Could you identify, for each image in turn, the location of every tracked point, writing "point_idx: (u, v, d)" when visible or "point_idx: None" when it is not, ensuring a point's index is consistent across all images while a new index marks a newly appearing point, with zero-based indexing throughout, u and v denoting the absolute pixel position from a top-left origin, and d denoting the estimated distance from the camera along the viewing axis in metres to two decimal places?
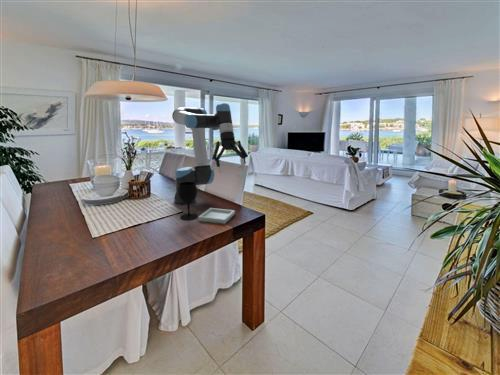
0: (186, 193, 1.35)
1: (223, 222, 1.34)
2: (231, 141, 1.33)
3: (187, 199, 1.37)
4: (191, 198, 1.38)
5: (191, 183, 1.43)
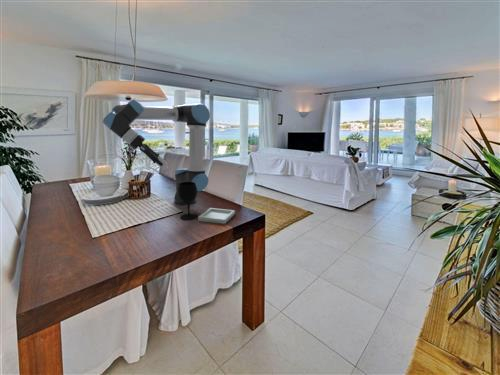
0: (186, 193, 1.35)
1: (223, 222, 1.34)
2: None
3: (187, 199, 1.37)
4: (191, 198, 1.38)
5: (191, 183, 1.43)
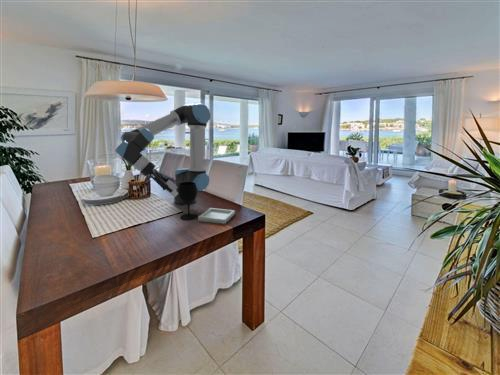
0: (186, 193, 1.35)
1: (223, 222, 1.34)
2: None
3: (187, 199, 1.37)
4: (191, 198, 1.38)
5: (191, 183, 1.43)
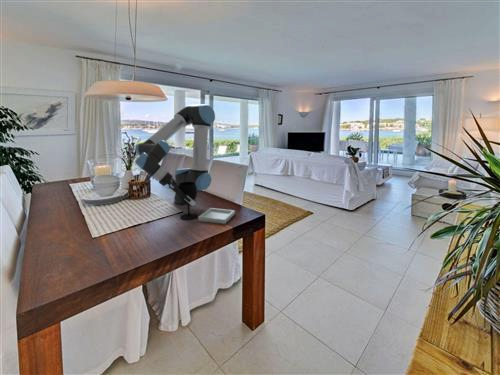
0: (186, 193, 1.35)
1: (223, 222, 1.34)
2: (168, 184, 1.35)
3: None
4: (191, 198, 1.38)
5: (191, 183, 1.43)
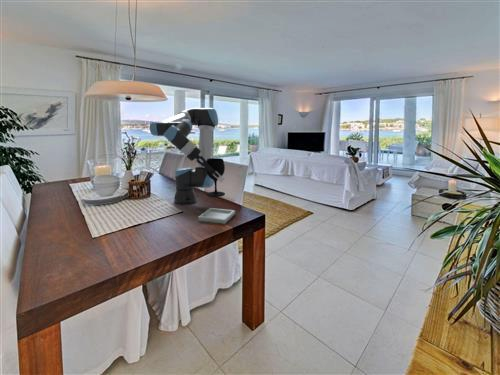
0: (214, 169, 1.31)
1: (223, 222, 1.34)
2: None
3: None
4: None
5: (218, 159, 1.39)
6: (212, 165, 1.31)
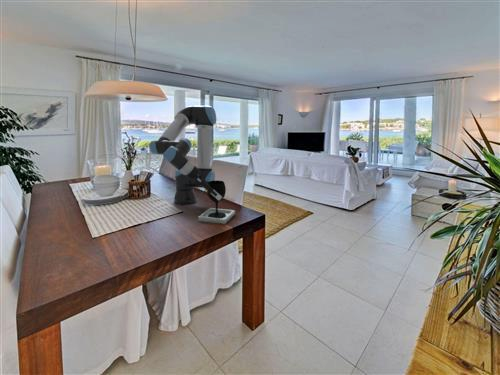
0: None
1: (223, 222, 1.34)
2: None
3: None
4: None
5: (219, 182, 1.43)
6: (213, 188, 1.34)
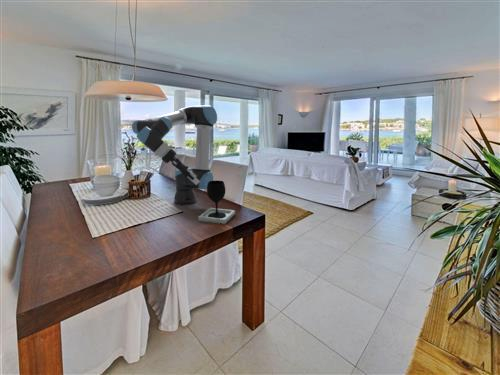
0: (215, 192, 1.35)
1: (223, 222, 1.34)
2: None
3: (216, 198, 1.36)
4: (220, 197, 1.37)
5: (219, 182, 1.43)
6: (213, 189, 1.34)
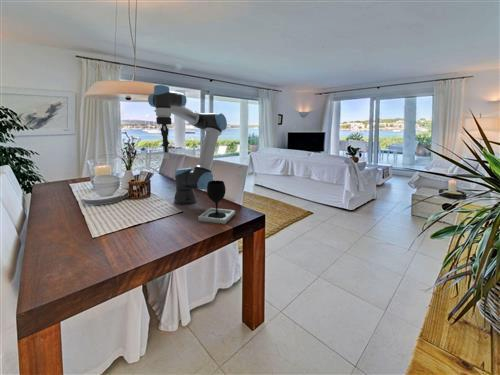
0: (215, 192, 1.35)
1: (223, 222, 1.34)
2: None
3: (216, 198, 1.36)
4: (220, 197, 1.37)
5: (219, 182, 1.43)
6: (213, 189, 1.34)
